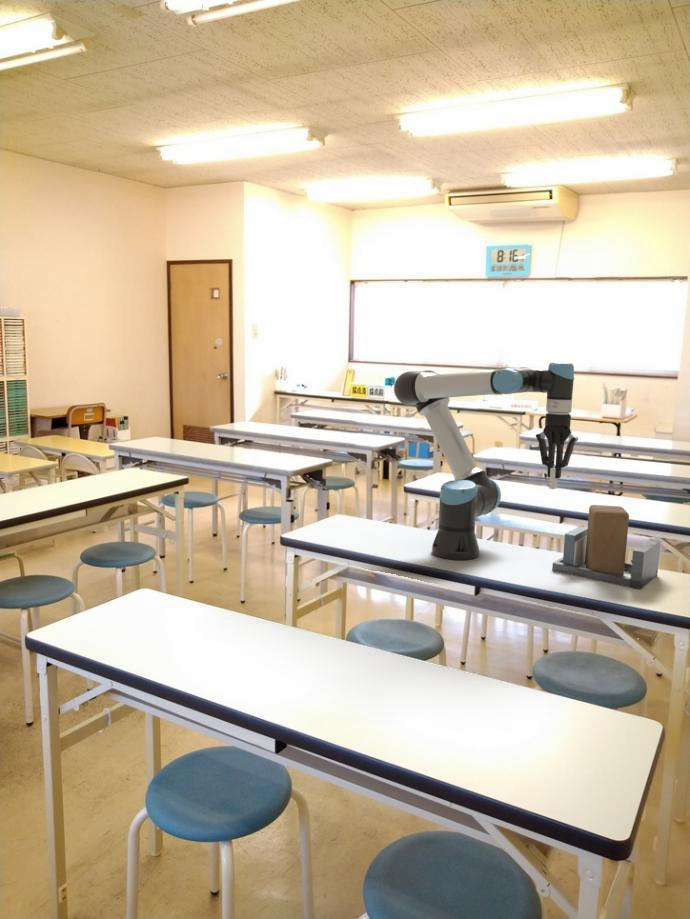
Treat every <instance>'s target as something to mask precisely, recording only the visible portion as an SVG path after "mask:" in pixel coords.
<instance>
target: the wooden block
mask: <svg viewBox="0 0 690 919" xmlns="http://www.w3.org/2000/svg"><path fill="white" fill-rule="evenodd" d="M629 522H630V515H629V513H628V512H627V511H626V509H625V508H624V507H623V506H620V505H619V506H617V505H602V504H591V505H590V506H589V508H588V518H587V528H586V529H587V542H586V554H585V563H584V566H585V567H584V568H589V569H593V570H598V571H603V572H608V573H612V574H617V575H622V576H625V571H624V567H625V562H626V555H627V544H628V542H627V541H628V533H629Z"/></svg>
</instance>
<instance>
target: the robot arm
mask: <svg viewBox="0 0 690 919" xmlns="http://www.w3.org/2000/svg"><path fill="white" fill-rule="evenodd" d="M574 381H575V366H574V364H573V363H571V362H557V361H556V362H549V365H548V366H547V367H546V368H539V367H538V368H536V367H525V366H521V367H513V368H512V367H506V368H505V367H504V368H501V369H489V370H478V371H465V372H453V373H443V374H442V373H440V372H439V371H433V370H422V371H415V370H414V371H413V370H409V371H406V372H405V371H404V372H403V373H401V374H400V375H399V376H398V377H397V379H396V380H395V382H394V385H393V392H394V396H395V397H396V399H397V400H398V402H400V403H401V404H403V405H405V406H414V408H416V411H417V413H418V414H419V416H423V417H425V419H426V421H427V423H428V426H429V427H430V429H431V432H432V434H433V436H434V438H435V440H436V442H437V444H438V446H439V448H440V450H441V452H442V454H443V456H444V459H445V461H446V463H447V465H448V467H449V469H450V471H451V473H452V475H453V477H454V479H453V480H448V481H446V482H444V483H443V484H441V487H440V491H439V492H440V493H439V506H438V507H439V511H438V529H437V532H436V535H435V538H434V540H433V542H432V546H431V547H432V548H431V553H432V554H433V555H435V556H436V557H439V558H442V559H445V560H446V559H447V560H453V561H461V560H462V561H468V560H473V559H476V558H478V557H479V555H480V547H479V543H478V540H477V535H476V533H475V532H476V531H475V530H476V518H478V517H481V516H486V515H488V514H490V513H492V512H493V511H494V510H496V509H497V508H498V506H499V504H500V502H501V500H502V499H501V498H502V493H501V488H500V486H499V485H498V483H497V482H496V481H494V480H493V479H491V478H489V477H488V475H487V472H486V471H485V469H482V468H479V467H478V464H477V462H476V461H475V459H474V457H473V454H472V452H471V451H470V448H469V447H468V445H467V443H466V440H465V438H464V437H463V435H462V432H461V430H460V428H459V426H458V424H457V423H456V421H455V418H454V416H453V414H452V412H451V410H450V408H449V404H450V400H451V399H450V398H458V397H460V398H461V397H473V396H474V397H475V396H476V397H477V396H488V395H489V396H491V395H512V394H519V393H542V394H546V406H545V411H546V414H545V417H544V418H545V419H544V428H543V429H542V431H541V432H540V433H537V434H535V438H536V440H537V442H538V447H539V453H540V459H541V464H542V465H543V466H545V467H547V473H546V474H547V475H546V476H547V478H549V483H548V484H549V485H548V486H549V487H548V489H550V490H556V489H558V480H559V479H560V478H561V477H562V468H566V467H568V465H569V463H570V460H571V456H572V453H573V449H574V447H575V444H576V443H577V441H578V440H579V437H578V436H574V435H573V434H572V431H571V421H572V415H571V412H572V406H573V404H572V403H573V391H574ZM546 439H547V441H548V442H547V443H548V444H547V443H546ZM567 440H568V443H567V445H566V449H565V451H564V446H565V442H566V441H567ZM547 445H548V446H547ZM547 447H548V450H547Z"/></svg>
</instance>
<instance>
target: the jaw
mask: <svg viewBox="0 0 690 919" xmlns="http://www.w3.org/2000/svg"><path fill="white" fill-rule="evenodd" d="M587 529H588V528H585V527H579V526H577V527H575V528H573V529H572V530H570V531H568V532H566V533H565V534H564V542H563V553H562V554H563V555H562V556H563V563H565V564H570V565H574V566H579V567H581V566H582V565H585V554H586V542H587Z"/></svg>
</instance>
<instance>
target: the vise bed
mask: <svg viewBox="0 0 690 919" xmlns="http://www.w3.org/2000/svg"><path fill="white" fill-rule="evenodd" d="M661 542H662V540H661V539H655V538H649V539H647V540H646V541H644V542H643V543H642V544H640V545H638V546H637V547H636V548H634V549H632V559H631V561H630V562H629V561H625V567H624V570H625V571H624V572H627V571H629V573H630V576H626V575H624V576H622V575H617V574H612V573H608V572H603V571H598V570H593V569H589V568H586V567H583V566H574V565H570V564H565V563H563V557H560V558H559V559H557V560H556V561H554V562H552V567H551V568H552V569H551V571H553V572H558V573H562V574H567V575H571V576H576V577H580V578H585V579H588V580H589V579H590V580H593V581H600V582H602V583H603V582H604V583H608V584H611V585H617V586H621V587H625V588H629V589H634V590H635V589H636V590H639V591H641V590H643V588H645V587H646V586H647V585H648V584H650V583H651V582H652V581H653V580H654V579H655V578H656V577H657V576H658V572H659V562H660V561H659V560H660V553H661V551H660V550H661Z"/></svg>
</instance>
